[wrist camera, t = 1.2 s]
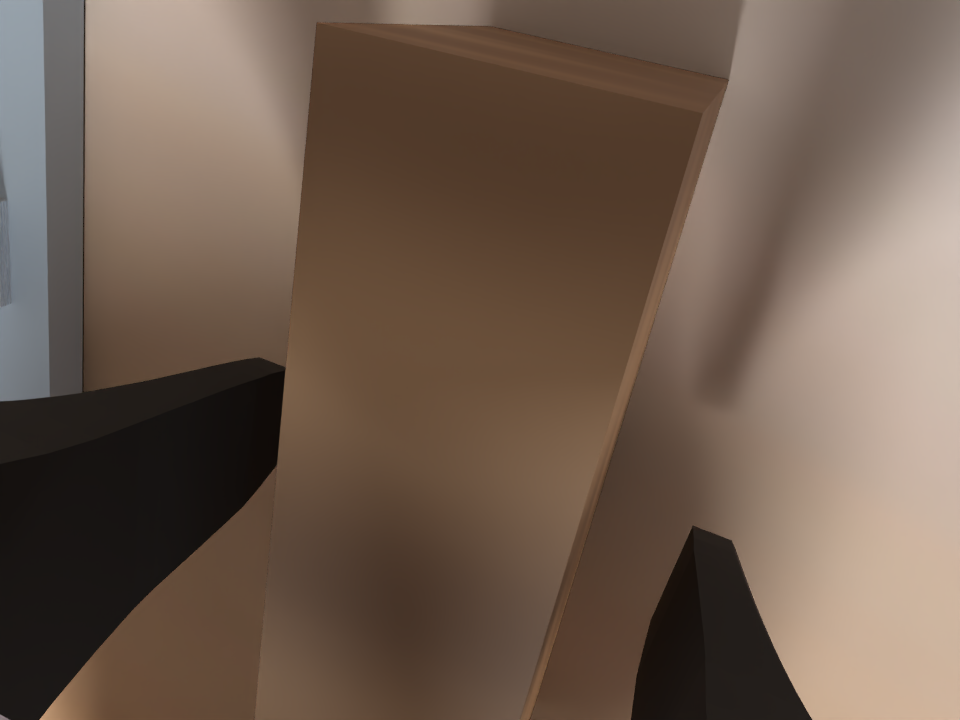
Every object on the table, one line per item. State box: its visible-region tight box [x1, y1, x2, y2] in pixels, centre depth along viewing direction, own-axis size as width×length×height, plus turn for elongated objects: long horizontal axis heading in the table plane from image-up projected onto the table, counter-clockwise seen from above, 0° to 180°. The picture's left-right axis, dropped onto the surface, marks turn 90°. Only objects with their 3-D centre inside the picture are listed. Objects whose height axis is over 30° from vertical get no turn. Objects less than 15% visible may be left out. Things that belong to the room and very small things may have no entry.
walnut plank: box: [254, 22, 729, 720], centre depth 13 cm, size 14×4×6 cm, turn 169°
